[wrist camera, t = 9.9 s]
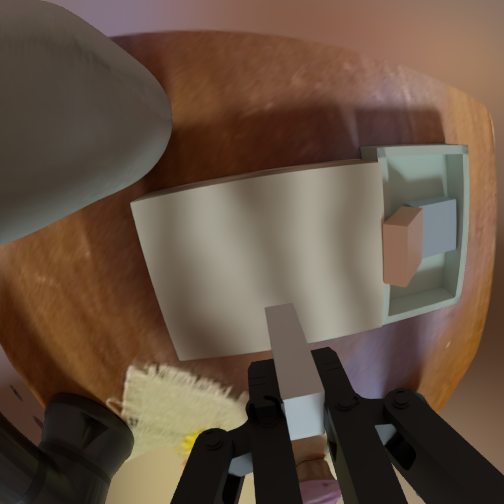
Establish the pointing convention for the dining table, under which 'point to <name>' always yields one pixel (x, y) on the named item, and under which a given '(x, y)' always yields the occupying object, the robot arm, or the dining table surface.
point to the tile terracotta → (402, 245)
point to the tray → (417, 188)
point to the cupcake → (317, 483)
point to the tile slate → (437, 224)
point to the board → (266, 254)
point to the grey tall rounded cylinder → (69, 116)
